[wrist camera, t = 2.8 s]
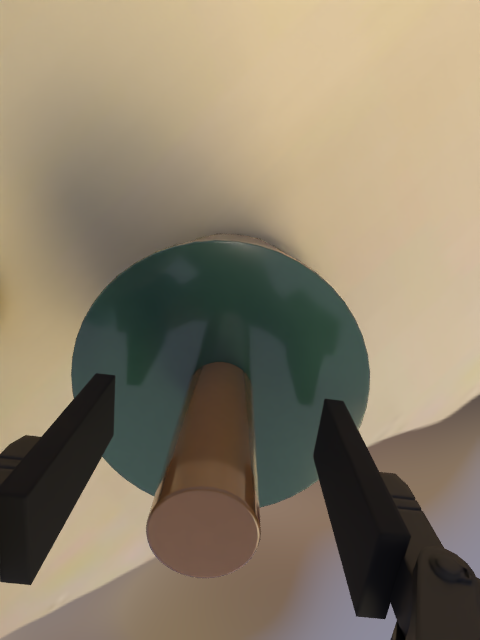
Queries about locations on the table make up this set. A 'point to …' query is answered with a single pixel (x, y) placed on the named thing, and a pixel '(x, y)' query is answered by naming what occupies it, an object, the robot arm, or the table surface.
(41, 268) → the table surface
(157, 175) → the table surface
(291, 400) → the crock lid
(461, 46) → the table surface
